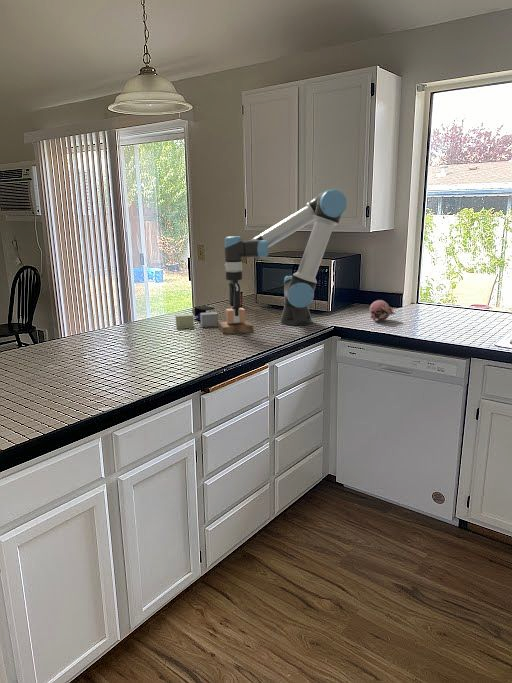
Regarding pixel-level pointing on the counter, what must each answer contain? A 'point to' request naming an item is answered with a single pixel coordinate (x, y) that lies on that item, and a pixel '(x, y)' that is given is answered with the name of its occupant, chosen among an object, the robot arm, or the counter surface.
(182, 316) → the olive brick
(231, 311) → the terracotta brick
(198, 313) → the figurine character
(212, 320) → the grey brick
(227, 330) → the walnut board
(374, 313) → the toy
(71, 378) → the counter surface
